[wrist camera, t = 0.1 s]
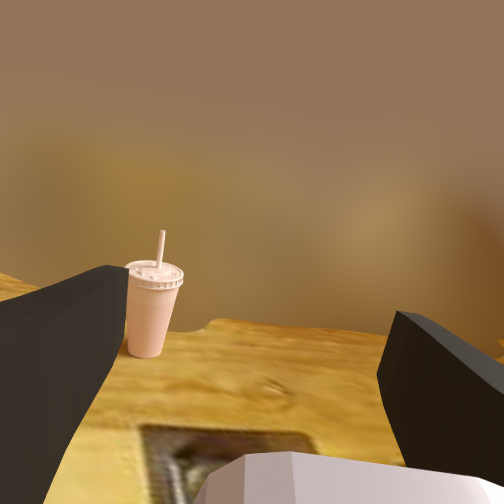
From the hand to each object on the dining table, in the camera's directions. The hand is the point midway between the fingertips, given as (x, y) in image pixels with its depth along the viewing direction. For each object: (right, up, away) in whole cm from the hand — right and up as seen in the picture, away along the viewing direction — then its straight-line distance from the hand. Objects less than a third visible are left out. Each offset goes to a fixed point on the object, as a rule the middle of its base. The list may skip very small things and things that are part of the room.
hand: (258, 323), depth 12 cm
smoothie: (-12, -9, +39) cm, 42 cm away
